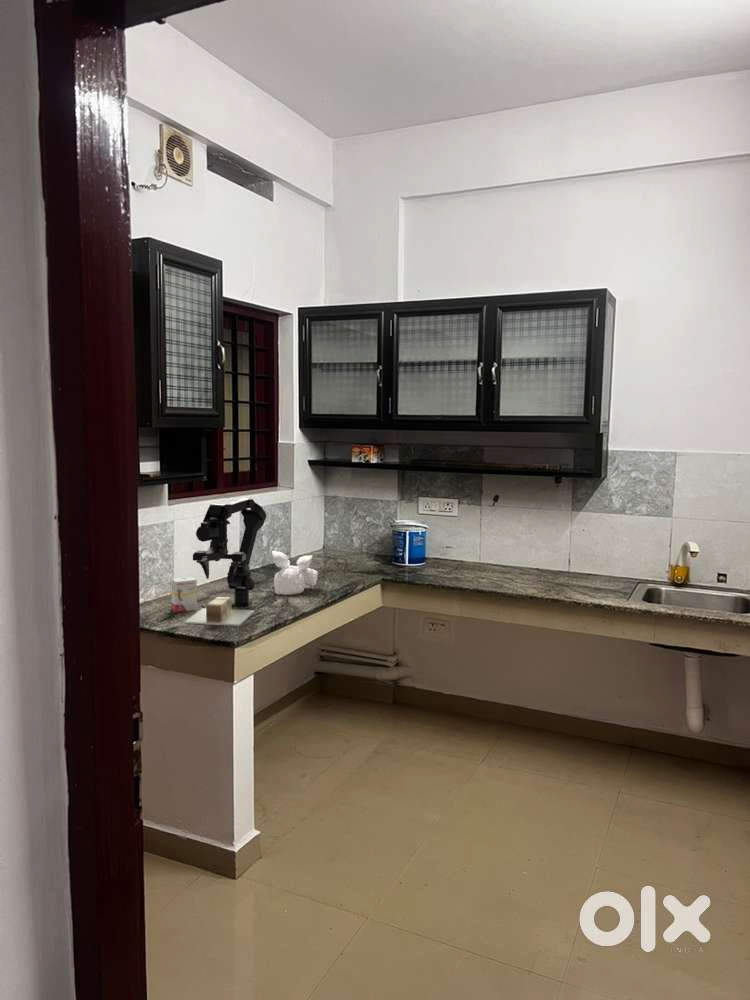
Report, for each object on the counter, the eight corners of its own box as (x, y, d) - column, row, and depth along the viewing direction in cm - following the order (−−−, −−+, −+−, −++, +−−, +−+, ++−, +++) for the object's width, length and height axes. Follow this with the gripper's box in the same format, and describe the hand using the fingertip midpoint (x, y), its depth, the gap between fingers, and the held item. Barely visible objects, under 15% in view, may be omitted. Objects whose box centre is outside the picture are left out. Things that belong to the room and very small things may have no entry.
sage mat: (203, 609, 280) (203, 608, 280) (254, 611, 278) (254, 610, 278) (184, 623, 261) (184, 621, 261) (239, 625, 259) (239, 624, 259)
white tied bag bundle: (263, 575, 299) (274, 542, 314) (268, 609, 311) (278, 576, 327) (309, 579, 297) (318, 546, 313) (312, 613, 310) (320, 580, 325)
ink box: (174, 612, 276) (174, 581, 274) (171, 609, 280) (170, 578, 279) (197, 609, 280) (197, 579, 279) (193, 606, 284) (193, 576, 283)
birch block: (217, 596, 273) (206, 605, 261) (230, 597, 273) (219, 605, 261) (218, 612, 274) (206, 621, 262) (231, 613, 274) (220, 622, 261)
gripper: (186, 540, 265) (187, 583, 267) (237, 542, 263) (237, 585, 265) (197, 535, 276) (198, 576, 278) (246, 537, 274) (246, 578, 276)
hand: (219, 579), depth 274 cm, fingers open, 9 cm apart
